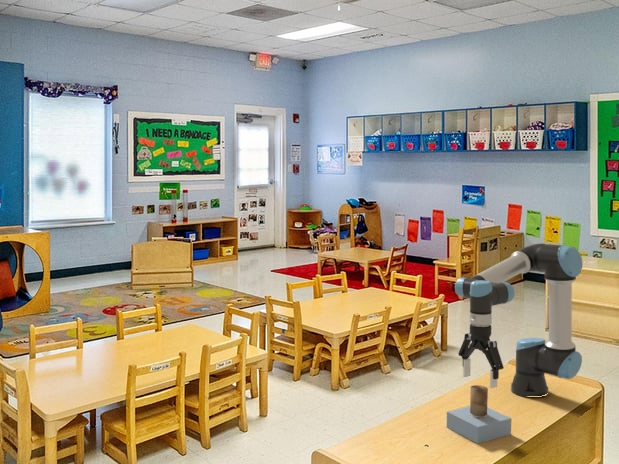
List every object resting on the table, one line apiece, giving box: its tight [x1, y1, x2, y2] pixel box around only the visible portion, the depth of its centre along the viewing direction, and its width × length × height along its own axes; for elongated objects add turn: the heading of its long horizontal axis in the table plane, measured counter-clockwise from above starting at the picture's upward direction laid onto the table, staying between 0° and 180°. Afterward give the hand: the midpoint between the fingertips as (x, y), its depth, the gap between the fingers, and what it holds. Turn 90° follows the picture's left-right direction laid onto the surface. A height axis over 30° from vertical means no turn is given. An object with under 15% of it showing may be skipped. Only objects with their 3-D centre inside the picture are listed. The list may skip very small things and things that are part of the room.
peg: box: [469, 384, 489, 419], centre depth 224 cm, size 6×6×15 cm
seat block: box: [446, 405, 512, 445], centre depth 225 cm, size 16×16×6 cm
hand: (479, 381), depth 223 cm, fingers open, 13 cm apart
